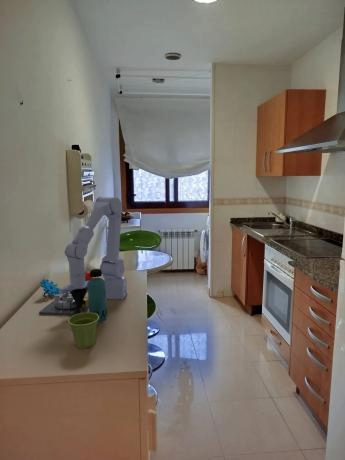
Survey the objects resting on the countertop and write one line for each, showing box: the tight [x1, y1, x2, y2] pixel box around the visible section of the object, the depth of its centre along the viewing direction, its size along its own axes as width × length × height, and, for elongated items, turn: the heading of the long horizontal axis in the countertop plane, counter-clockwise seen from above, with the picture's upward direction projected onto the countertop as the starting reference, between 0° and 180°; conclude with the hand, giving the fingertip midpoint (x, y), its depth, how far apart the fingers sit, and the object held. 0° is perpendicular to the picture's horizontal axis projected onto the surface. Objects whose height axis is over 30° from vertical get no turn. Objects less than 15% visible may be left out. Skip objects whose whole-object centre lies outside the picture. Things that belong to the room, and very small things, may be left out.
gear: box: [40, 278, 61, 298], centre depth 150 cm, size 11×6×10 cm
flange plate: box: [38, 296, 89, 317], centre depth 136 cm, size 17×17×1 cm
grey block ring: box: [53, 292, 89, 309], centre depth 135 cm, size 11×14×4 cm
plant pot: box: [67, 311, 99, 350], centre depth 104 cm, size 9×9×9 cm
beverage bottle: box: [87, 268, 108, 324], centre depth 118 cm, size 6×7×20 cm
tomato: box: [85, 270, 94, 289], centre depth 160 cm, size 11×11×8 cm
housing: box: [61, 293, 74, 301], centre depth 136 cm, size 6×6×5 cm
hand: (79, 307), depth 130 cm, fingers closed
